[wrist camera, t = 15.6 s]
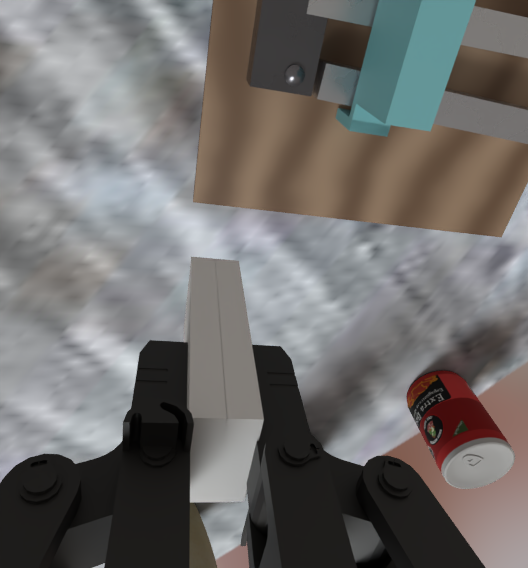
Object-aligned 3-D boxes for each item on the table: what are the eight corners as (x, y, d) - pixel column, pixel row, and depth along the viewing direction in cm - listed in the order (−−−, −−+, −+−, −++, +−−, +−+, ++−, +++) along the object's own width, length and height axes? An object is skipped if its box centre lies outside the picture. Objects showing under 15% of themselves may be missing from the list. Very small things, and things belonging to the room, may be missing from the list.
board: (193, 196, 41) (193, 202, 40) (227, -148, 29) (228, -152, 28) (494, 231, 47) (501, 237, 46) (623, -44, 35) (635, -45, 34)
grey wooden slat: (308, 91, 36) (317, 99, 34) (317, 58, 35) (326, 63, 33) (527, 138, 41) (549, 148, 38) (541, 110, 39) (564, 118, 37)
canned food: (424, 362, 55) (470, 437, 46) (477, 375, 58) (531, 448, 49) (392, 407, 59) (429, 485, 50) (444, 417, 61) (488, 493, 52)
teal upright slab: (335, 118, 37) (375, 155, 29) (374, -44, 32) (438, -56, 24) (370, 123, 38) (419, 161, 30) (414, -35, 33) (490, -43, 24)
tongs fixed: (246, 79, 35) (250, 86, 33) (262, -38, 32) (268, -40, 29) (532, 127, 40) (556, 137, 38) (575, 31, 37) (606, 34, 34)
